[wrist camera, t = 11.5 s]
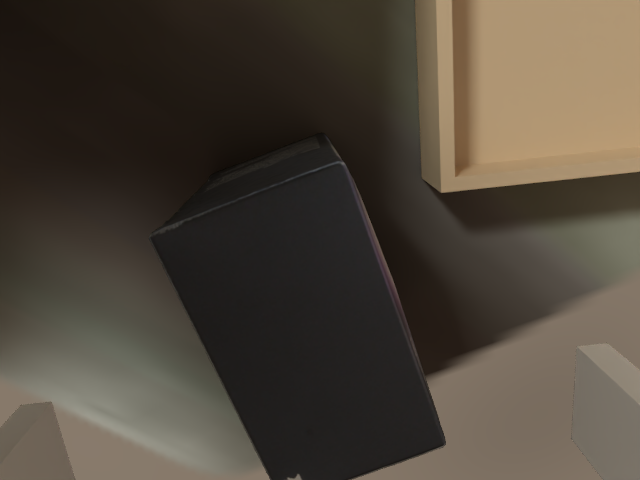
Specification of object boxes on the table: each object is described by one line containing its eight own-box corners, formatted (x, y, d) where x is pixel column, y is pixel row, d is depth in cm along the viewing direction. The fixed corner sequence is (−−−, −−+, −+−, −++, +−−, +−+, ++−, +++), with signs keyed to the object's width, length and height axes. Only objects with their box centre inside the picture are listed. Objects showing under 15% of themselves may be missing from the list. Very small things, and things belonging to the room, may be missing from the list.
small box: (399, 314, 26) (459, 453, 16) (286, 354, 27) (277, 514, 17) (330, 125, 23) (353, 155, 13) (204, 175, 24) (133, 239, 14)
